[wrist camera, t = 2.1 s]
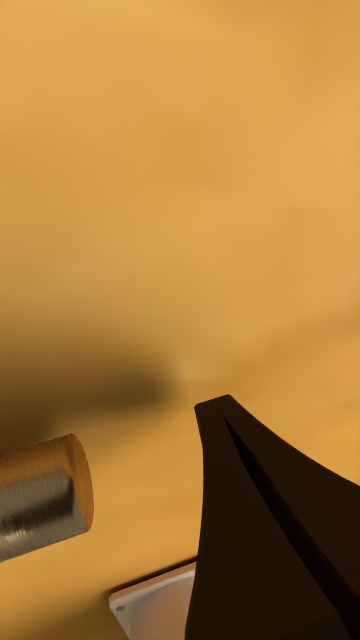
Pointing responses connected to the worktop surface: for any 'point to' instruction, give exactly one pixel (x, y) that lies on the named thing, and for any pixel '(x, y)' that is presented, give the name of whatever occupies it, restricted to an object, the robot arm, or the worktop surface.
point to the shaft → (44, 496)
